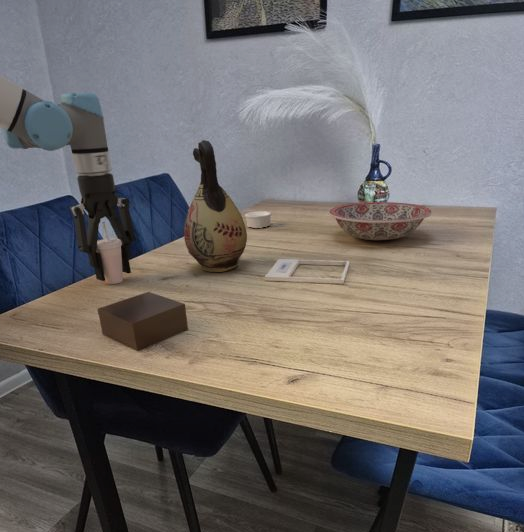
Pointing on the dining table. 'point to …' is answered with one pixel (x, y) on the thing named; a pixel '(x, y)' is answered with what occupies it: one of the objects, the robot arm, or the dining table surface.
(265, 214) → the ramekin
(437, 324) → the dining table surface
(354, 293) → the dining table surface
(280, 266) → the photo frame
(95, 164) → the robot arm
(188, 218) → the ceramic jug
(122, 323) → the block
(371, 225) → the ceramic bowl
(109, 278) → the smoothie
